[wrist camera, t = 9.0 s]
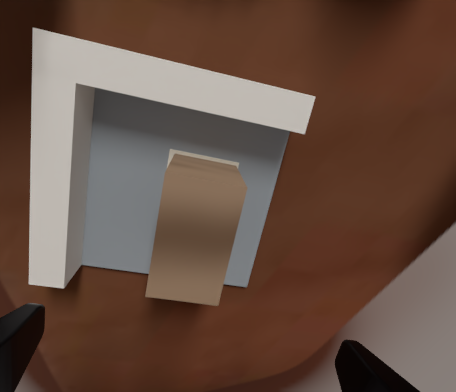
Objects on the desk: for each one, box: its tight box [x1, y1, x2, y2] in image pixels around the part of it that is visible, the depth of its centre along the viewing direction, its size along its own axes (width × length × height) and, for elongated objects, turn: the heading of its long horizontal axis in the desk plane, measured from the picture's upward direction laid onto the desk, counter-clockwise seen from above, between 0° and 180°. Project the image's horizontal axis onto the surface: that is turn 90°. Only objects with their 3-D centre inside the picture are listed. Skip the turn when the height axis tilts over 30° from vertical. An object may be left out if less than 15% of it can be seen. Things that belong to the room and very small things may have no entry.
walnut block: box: [145, 154, 247, 306], centre depth 17 cm, size 7×4×5 cm, turn 168°
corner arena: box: [29, 28, 315, 289], centre depth 18 cm, size 14×14×3 cm
